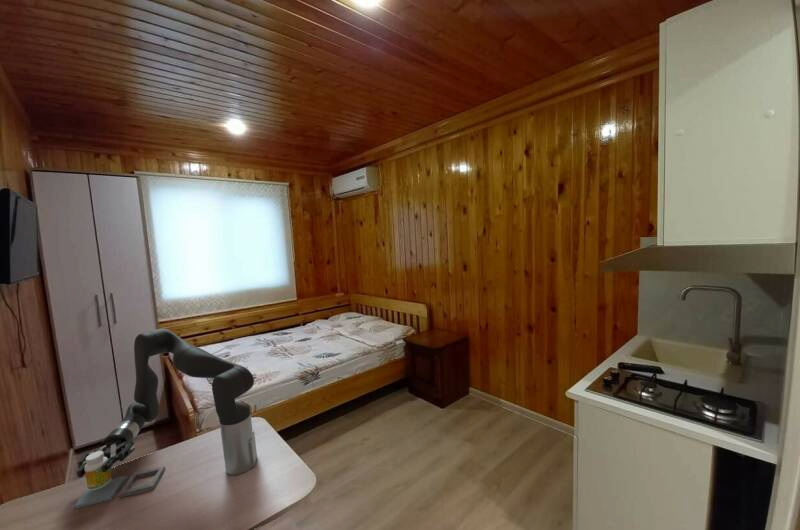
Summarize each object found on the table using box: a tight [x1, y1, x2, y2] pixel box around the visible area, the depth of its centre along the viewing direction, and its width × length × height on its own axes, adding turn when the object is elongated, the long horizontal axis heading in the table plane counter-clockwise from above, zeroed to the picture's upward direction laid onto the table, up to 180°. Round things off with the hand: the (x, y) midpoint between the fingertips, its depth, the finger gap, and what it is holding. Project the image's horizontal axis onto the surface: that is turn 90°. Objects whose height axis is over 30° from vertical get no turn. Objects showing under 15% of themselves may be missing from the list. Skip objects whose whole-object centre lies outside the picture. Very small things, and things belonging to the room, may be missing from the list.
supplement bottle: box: [84, 451, 112, 490], centre depth 99 cm, size 5×5×10 cm
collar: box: [118, 465, 166, 498], centre depth 103 cm, size 9×9×1 cm
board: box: [73, 475, 127, 510], centre depth 100 cm, size 9×9×1 cm
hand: (91, 472), depth 97 cm, fingers closed on supplement bottle, 5 cm apart
